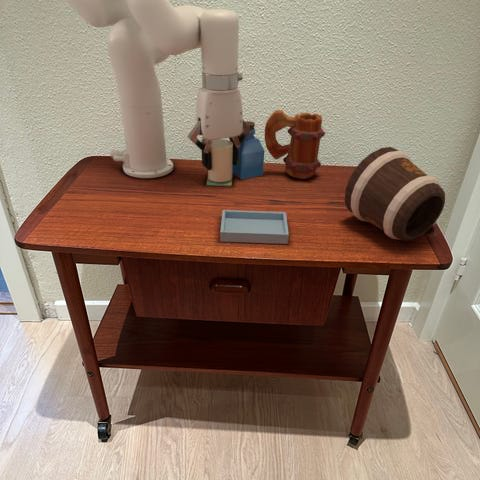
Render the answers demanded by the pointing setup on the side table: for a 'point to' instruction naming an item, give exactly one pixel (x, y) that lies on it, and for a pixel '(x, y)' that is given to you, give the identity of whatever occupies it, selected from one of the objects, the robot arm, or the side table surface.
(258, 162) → the perfume bottle
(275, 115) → the mug
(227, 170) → the cream upright cylinder
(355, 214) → the brown wooden barrel
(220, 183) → the mat
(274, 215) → the tray
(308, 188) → the side table surface
